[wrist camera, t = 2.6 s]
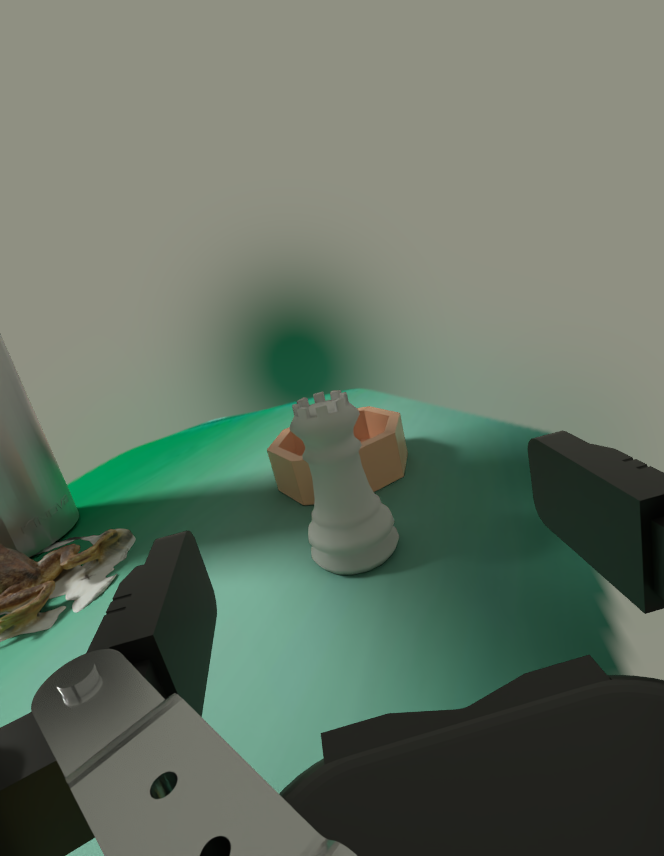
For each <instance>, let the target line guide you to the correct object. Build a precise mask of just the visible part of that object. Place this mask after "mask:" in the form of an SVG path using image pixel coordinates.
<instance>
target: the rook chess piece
mask: <svg viewBox="0 0 664 856" xmlns="http://www.w3.org/2000/svg"><path fill="white" fill-rule="evenodd" d="M330 395H331V399H332V400H329V401H325V397H324V393H323V392H320V393H316V394H313V396H314V400H315V404H312V405H309V403H308V399H307V398H302V399H300V400H298V401H297V404H294V405H292V408H293V412H294V418H293V420H292V422H291V424H290V431H291V432H292V433H294V434H295V435H296V436H297V437H299V438H300V439H301V440H302V441H303V443H304V445H305V451H304V453H303V455H302V456H303V460H304V461H306V462H307V463H308V464H309V468H310V471H311V475H312V480H313V489H314V498H315V501H314V509H313V511H312V512H311V514H312V521H311V523H310V524H309V526H308V538H309V543H310V544H311V545H312V548H311V555H312V559H313V560H314V561H315V562H316V563H317V564H318V565H319V566H320V567H322V568H324V569H325V570H327V571H329V572H332V573H335V574H338V575H354V574H358V573H363V572H367V571H370V570H372V569H374V568H376V567H378V566H380V565H382V564H383V563H384V562H385V561H386V560H387V559H388V558H389V557H390V556H391V555H392V553H393V552H394V550H395V548H396V546H397V542H398V539H399V534H398V532H397V529H396V528H395V527H394V526H393V525H394V522H395V521H394V518H393V516H392V513H391V512H390V510H389V508H388V507H387V506H386V505H384V504H382V503H381V500H380V498H379V496H378V495H376V494H374V492H373V490H372V489H371V487H370V485H369V483H368V480H367V477H366V475H365V472H364V470H363V467H362V464H361V460H360V455H359V450H360V448H361V446H362V444H361V442H360V440H358V439H357V438H355V436H354V431H353V428H354V426H355V423H356V421H357V419H358V417H359V414H360V413H359V410H358V409H357V408H356V407H354V406H353V405H352V404H351V403H349V401H348V397H347V394H346V392H344V393H341V390H338V391H337V390H333V391H331V392H330Z"/></svg>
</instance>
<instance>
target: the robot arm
mask: <svg viewBox="0 0 664 856" xmlns="http://www.w3.org/2000/svg"><path fill="white" fill-rule="evenodd" d="M528 456H529V465H530V473H531V481H532V490H533V498H534V504H535V507H536V510H537V513H538V515H539V517H540V519H541V520H542V522H543V523H544V524H545V525H546V526H547V527H548V528H549V529H550V530H551V531H552V532H553V533H554V534H556V535H557V536H558V537H559V538H560V539H561V540H562V541H564V542H565V543H566V544H567V545H568V546H569V547H570V548H571V549H573V550H574V551H575V552H576V553H577V554H578V555H579V556H580V557H582V558H583V559H584V560H585V561H586V562H587V563H588V564H589V565H591V566H592V567H593V568H594V569H595V570H596V571H597V572H598V573H600V574H601V575H602V576H603V577H604V578H605V579H606V580H607V581H609V582H610V583H611V584H612V585H613V586H614V587H615V588H616V589H618V590H619V591H620V592H621V593H622V594H623V595H624V596H626V597H627V598H628V599H629V600H630V601H631V602H632V603H634V604H635V605H636V606H637V607H638V608H639V609H640V610H641V611H642V612H644V613H645V614H646V613H649V612H653V611H656V610H660V609H663V608H664V473H663V472H661V471H659V470H657V469H655V468H653V467H651V466H650V467H648V466H647V464H645V463H643V462H641V461H639V460H637V459H635V460H633V458H632V457H630V456H628V455H626V454H624V453H622V452H620V451H618V450H616V449H613V448H608V447H603V446H599V445H594V444H589V443H587V442H585V441H583V440H581V439H579V438H577V437H576V436H574V435H572V434H570V433H568V432H565V431H559V432H555V433H552V434H548V435H544V436H540V437H537V438H533V439H531V440H530V441H529V443H528ZM78 518H79V512H78V509H77V507H76V505H75V503H74V500H73V498H72V496H71V494H70V491H69V489H68V487H67V484H66V482H65V480H64V478H63V476H62V473H61V471H60V469H59V466H58V464H57V461H56V459H55V457H54V454H53V452H52V450H51V448H50V445H49V443H48V441H47V439H46V436H45V434H44V432H43V429H42V427H41V425H40V423H39V420H38V418H37V416H36V414H35V411H34V409H33V407H32V405H31V402H30V400H29V398H28V396H27V393H26V391H25V389H24V386H23V384H22V382H21V380H20V378H19V375H18V373H17V371H16V369H15V366H14V364H13V362H12V359H11V357H10V355H9V352H8V350H7V348H6V346H5V344H4V341H3V339H2V337H1V334H0V544H2V545H3V546H4V547H6V548H10V549H13V550H17V551H19V552H21V553H23V554H25V555H26V556H27V557H30V556H32V555H34V554H36V553H38V552H40V551H41V550H43V549H45V548H46V547H48V546H49V545H51V544H53V543H54V542H55V541H57V540H58V539H60V538H61V537H62V536H64V535H65V534H66V533H67V532H68V531H69V530H70V529H71V528H72V527H73V526H74V525H75V523H76V522H77V520H78ZM106 613H107V615H104V617H103V620H102V622H101V624H100V626H99V628H98V630H97V632H96V634H95V636H94V638H93V640H92V642H91V644H90V646H89V648H88V651H87V653H86V654H84V655H81V656H79V657H77V658H75V659H73V660H72V661H70V662H68V663H67V664H65V665H64V666H62V667H61V668H59V669H58V670H57V671H56V672H54V673H53V674H52V675H51V676H50V677H49V678H48V679H47V680H46V681H45V682H44V683H43V684H42V685H41V687H40V688H39V690H38V691H37V692H36V694H35V696H34V698H33V701H32V706H31V710H32V712H30V713H29V714H27V715H25V716H23V717H21V718H19V719H17V720H15V721H13V722H11V723H9V724H7V725H5V726H3V727H1V728H0V856H65V855H67V854H69V853H70V852H72V851H74V850H75V849H77V848H78V847H80V846H82V845H83V844H85V843H87V842H88V841H90V840H92V839H93V838H96V840H97V842H98V844H99V846H100V848H101V850H102V852H103V854H104V856H664V680H659V679H655V678H648V677H640V676H627V675H606V673H605V672H604V671H603V670H602V669H601V668H600V666H599V665H598V664H597V663H596V662H595V661H594V659H593V658H592V657H591V656H590V655H586V656H583V657H580V658H576V659H573V660H569V661H566V662H563V663H559V664H556V665H552V666H549V667H545V668H542V669H539V670H535V671H532V672H528V673H525V674H523V675H521V676H520V677H518V678H516V679H515V680H513V681H511V682H509V683H508V684H506V685H504V686H503V687H501V688H499V689H497V690H496V691H494V692H492V693H491V694H489V695H487V696H486V697H484V698H482V699H480V700H479V701H477V702H475V703H474V704H472V705H470V706H468V707H466V708H462V709H456V710H439V711H422V712H406V713H389V714H385V715H382V716H378V717H375V718H371V719H368V720H364V721H361V722H358V723H354V724H351V725H347V726H344V727H341V728H337V729H334V730H330V731H327V732H323V733H321V739H322V748H323V756H324V759H322V760H320V761H319V762H317V763H315V764H314V765H312V766H311V767H309V768H308V769H307V770H305V771H304V772H303V773H301V774H300V775H299V776H297V777H296V778H295V779H294V780H293V781H292V782H291V783H290V784H289V785H287V786H286V787H285V788H284V789H283V790H282V791H281V792H280V794H278V793H277V792H276V791H275V790H274V789H273V788H272V787H271V786H270V785H269V784H268V783H267V782H266V781H265V780H264V779H263V778H262V777H261V776H260V775H259V774H258V773H257V772H256V771H255V770H254V769H253V768H252V767H251V766H250V765H249V764H248V763H247V762H246V761H245V760H244V759H243V758H242V757H241V756H240V755H239V754H238V753H237V752H236V751H235V750H234V749H233V748H232V747H231V746H230V745H229V744H228V743H227V742H226V741H225V740H224V739H223V738H222V737H221V736H220V735H219V734H218V733H217V732H216V731H215V730H214V729H213V728H212V727H211V726H210V725H209V724H208V723H207V722H206V721H205V720H204V719H203V718H202V711H203V704H204V697H205V691H206V684H207V677H208V671H209V664H210V657H211V651H212V644H213V637H214V631H215V624H216V617H217V606H216V599H215V594H214V590H213V587H212V584H211V582H210V579H209V576H208V573H207V571H206V568H205V565H204V562H203V559H202V557H201V554H200V551H199V548H198V546H197V543H196V540H195V538H194V536H193V534H192V533H191V532H190V531H189V530H188V531H184V532H181V533H177V534H173V535H170V536H166V537H162V538H158V539H156V540H155V541H154V543H153V546H152V548H151V550H150V553H149V555H148V557H147V560H146V562H145V564H144V565H140V566H137V567H135V568H134V569H133V570H132V571H131V572H130V573H129V574H128V575H127V576H126V577H125V578H124V579H123V581H122V582H121V583H120V584H119V586H118V589H117V591H116V593H115V595H114V597H113V601H112V602H111V603H110V605H109V607H108V609H107V611H106Z"/></svg>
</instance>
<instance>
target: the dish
mask: <svg viewBox="0 0 664 856" xmlns="http://www.w3.org/2000/svg"><path fill="white" fill-rule="evenodd" d="M357 409H358V410H359V413H360V414H359V417H358V419H357V421H356V423H355V426H354V428H353V431H354V436H355V438H357V439H358V440H360V442H361V444H362V446H361V448H360V450H359V455H360V460H361V464H362V467H363V470H364V472H365V475H366V477H367V480H368V483H369V485H370V487H371V489H372V490H373V492H375V491H377V490H379V489H381V488H383V487H384V486H386V485H388V484H390V483H392V482H394V481H396V480H398V479H400V478H402V477H404V472H405V467H406V461H407V455H408V452H407V447H406V441H405V436H404V431H403V426H402V421H401V416H400V413H398V412H393V411H388V410H384V409H379V408H374V407H370V406H369V407H362V408H357ZM304 451H305V445H304V443H303V441H302V440H301V439H300V438H299V437H297V436H296V435H295V434H294V433H292V432H291V431H290V427H289V428H287V429H284V430H283V431H282V432H281V433H280V434H279V435H278V437H277V438H276V439H275V440H274V442H273V443H272V444H271V445H270V447H269V448H268V449H267V452H268V455H269V459H270V462H271V466H272V469H273V473H274V476H275V479H276V483H277V486H278V490H279V491H281V492H282V493H284V494H286V495H287V496H289V497H291V498H292V499H294V500H295V501H297V502H299V503H300V504H302V505H313V504H314V501H315V498H314V489H313V480H312V475H311V471H310V468H309V464H308V463H307V462H306V461H304V460H303V456H302V455H303V453H304Z"/></svg>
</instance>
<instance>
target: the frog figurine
mask: <svg viewBox="0 0 664 856" xmlns="http://www.w3.org/2000/svg"><path fill="white" fill-rule="evenodd" d="M76 539H82V540H86V541H90V542H91V543H92V544H93V546H92V547H90V548H88V549H87V550H85V551H83V552H81V553H78V552H79V550H80V546H79V545H76V544H71V545H66V546H64V547H61V548H59V549H57V550H54V551H51V552H49V553H48V554H46V555H45V556H44V557H43V558H42V559H41V560H40V561H39V562H36V561H34V560H32V559H30V558H29V557H27V556H26V555H25V554H23V553H21V552H19V551H17V550H13V549H10V548H6V547H4V546H3V545H2V544H0V615H2V614H7V615H5V616H3V617H1V618H0V642H1V641H3V640H6V639H8V638H11V637H14V636H17V635H20V634H25V633H32V632H37V631H41V630H46V629H49V628H51V627H52V625H53V624H54V623H55V621H56V620H57V618H58V615H59V614H60V613H61V612H62V611H63V610H64V609H65V608H66V606H61V607H59V608H57V609H54V610H50V611H47V612H44V613H39V611H40V610H41V609H42V607H43V606H44V605H45V603H46V602H47V600H48V599H51V598H54V597H58V596H61V595H64V594H66V600H74V603H73V605H72V609H73V611H74V612H79V611H80V610H82V609H83V608H85V607H86V606H87V605H88V604H90V603H91V602H92V601H94V600H95V599H96V598H97V597H98V596H100V595H101V594H102V593H103V592H104V591H105V590H106V589H107V587H108V586H109V585H110V584H111V582H112V581H113V580H114V579H115V577H116V575H117V574H115V575H114V576H111V577H108V578H106V575H107V574H109V573H110V572H111V571H113V570H114V568H113V567H114V566H115V565H116V564H118V563H119V562H121V561H122V560H124V559H126V557H127V552H128V551H129V550H130V548H131V547H132V545H133V544H134V542H135V540H136V539H135V537H134V535H133V534H132V533H131V531H130V530H128V529H109V530H108V531H105V532H104V533H102V534H101V535H98V536H96V535H92V536H89V537H73V538H69V539H67V540H65V541H61V542H58V543H53V544H51V545H49V546H48V547H46V548H45V549H43V550H41V551H40V552H38V553H36V554H34V555H37V554H40V553H43V552H47V551H50V550H52V549H54V548H56V547H59V546H62V545H64V544H67V543H69V542H72V541H74V540H76ZM77 553H78V554H77ZM34 555H32V556H34ZM32 556H30V557H32ZM84 563H85V564H84ZM81 564H84V565H83V566H81Z"/></svg>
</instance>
